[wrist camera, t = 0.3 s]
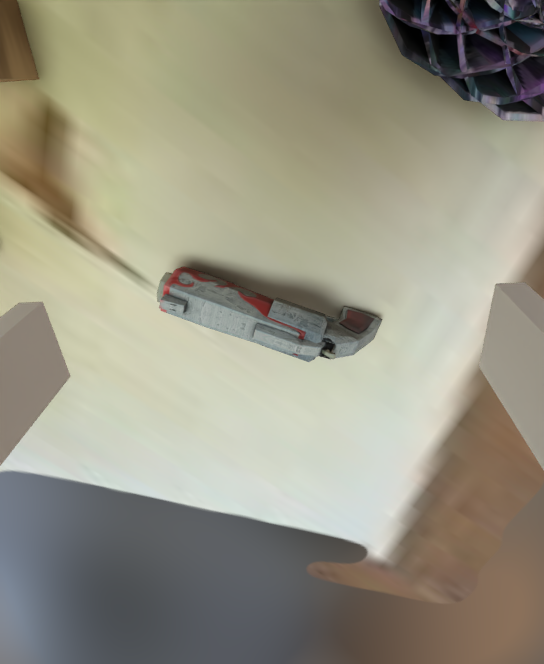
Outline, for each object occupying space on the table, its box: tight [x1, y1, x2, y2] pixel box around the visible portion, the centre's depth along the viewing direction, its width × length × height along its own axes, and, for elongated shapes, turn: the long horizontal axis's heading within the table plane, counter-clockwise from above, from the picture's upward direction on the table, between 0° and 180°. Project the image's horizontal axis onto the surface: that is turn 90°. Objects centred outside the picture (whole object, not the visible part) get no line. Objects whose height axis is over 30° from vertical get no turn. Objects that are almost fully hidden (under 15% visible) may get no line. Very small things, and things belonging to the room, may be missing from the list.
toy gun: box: [157, 267, 382, 362], centre depth 39 cm, size 4×20×10 cm, turn 76°
